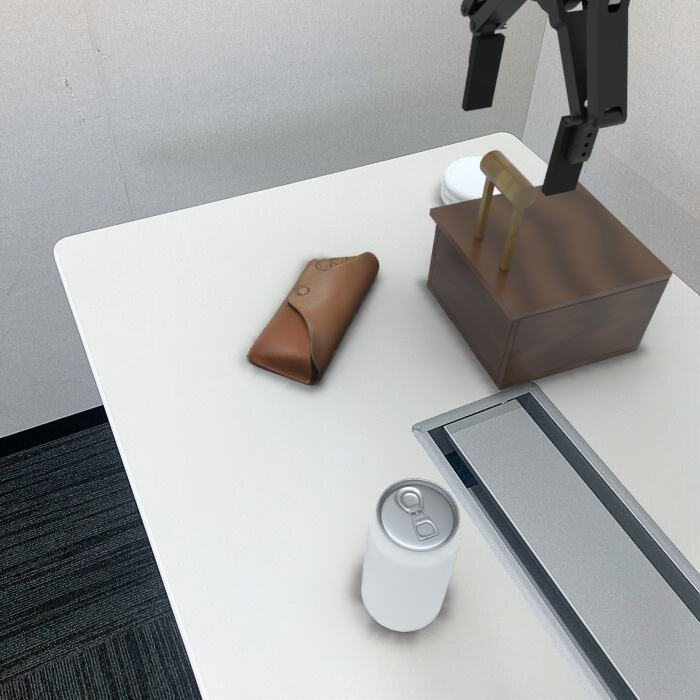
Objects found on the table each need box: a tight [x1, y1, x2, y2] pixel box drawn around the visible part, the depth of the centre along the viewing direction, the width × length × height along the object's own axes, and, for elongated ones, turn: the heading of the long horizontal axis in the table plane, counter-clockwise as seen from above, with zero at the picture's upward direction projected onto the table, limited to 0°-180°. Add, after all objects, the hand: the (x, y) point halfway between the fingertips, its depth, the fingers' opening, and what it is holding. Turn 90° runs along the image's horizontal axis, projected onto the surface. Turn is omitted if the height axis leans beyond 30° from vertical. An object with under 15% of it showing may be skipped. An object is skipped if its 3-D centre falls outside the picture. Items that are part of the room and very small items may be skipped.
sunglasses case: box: [246, 251, 380, 385], centre depth 79 cm, size 18×7×7 cm
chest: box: [426, 223, 670, 391], centre depth 78 cm, size 17×17×10 cm
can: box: [360, 477, 463, 633], centre depth 55 cm, size 6×6×12 cm
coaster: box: [440, 155, 501, 205], centre depth 95 cm, size 10×10×4 cm
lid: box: [428, 149, 673, 321], centre depth 71 cm, size 18×17×10 cm
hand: (514, 146), depth 64 cm, fingers open, 13 cm apart
